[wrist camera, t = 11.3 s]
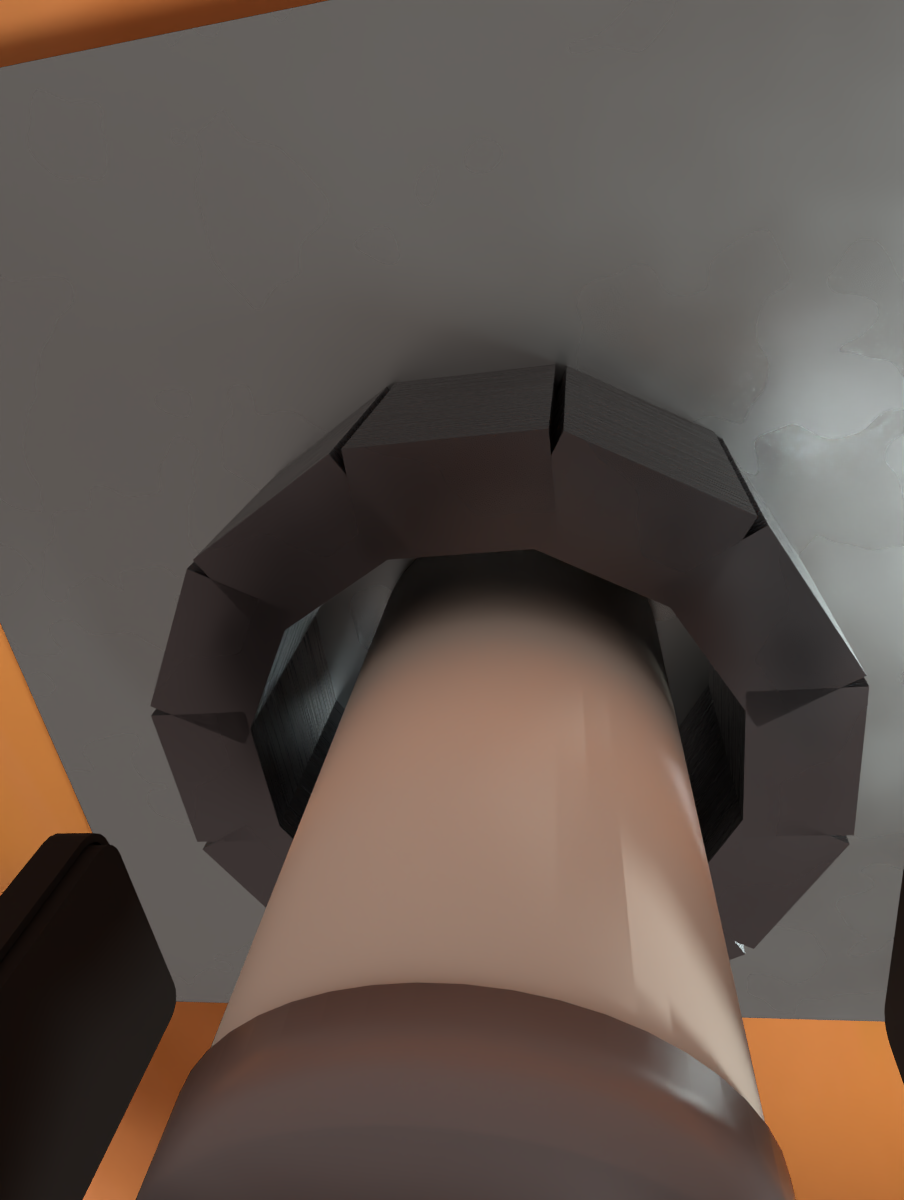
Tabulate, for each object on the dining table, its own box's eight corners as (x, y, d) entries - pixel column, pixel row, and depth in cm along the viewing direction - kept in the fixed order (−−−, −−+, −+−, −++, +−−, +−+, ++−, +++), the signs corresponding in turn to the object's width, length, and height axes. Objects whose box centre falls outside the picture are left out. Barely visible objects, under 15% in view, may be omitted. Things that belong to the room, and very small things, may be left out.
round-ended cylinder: (656, 500, 13) (849, 1135, 5) (669, 757, 16) (816, 1513, 7) (348, 533, 14) (10, 1117, 5) (403, 772, 17) (228, 1456, 8)
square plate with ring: (1261, -167, 10) (1758, -407, 6) (998, 976, 19) (1117, 1206, 15) (-161, 117, 13) (-487, 97, 9) (185, 961, 22) (97, 1141, 18)
